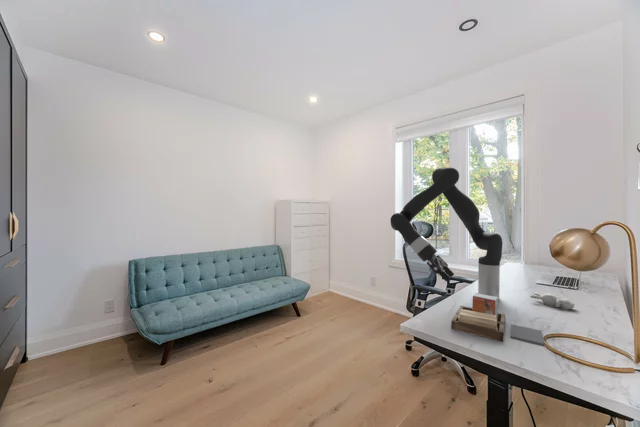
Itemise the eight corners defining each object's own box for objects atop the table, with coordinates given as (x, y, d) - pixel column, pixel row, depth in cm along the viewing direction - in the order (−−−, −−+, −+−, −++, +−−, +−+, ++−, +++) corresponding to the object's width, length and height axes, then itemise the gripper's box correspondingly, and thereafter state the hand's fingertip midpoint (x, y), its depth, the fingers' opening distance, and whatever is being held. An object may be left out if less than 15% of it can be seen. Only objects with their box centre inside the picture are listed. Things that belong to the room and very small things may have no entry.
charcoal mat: (511, 325, 103) (511, 324, 103) (541, 332, 97) (541, 330, 97) (510, 337, 93) (510, 335, 93) (543, 345, 88) (543, 343, 88)
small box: (471, 321, 106) (472, 295, 106) (475, 317, 110) (475, 292, 110) (495, 327, 101) (495, 300, 101) (498, 323, 105) (498, 296, 105)
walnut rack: (460, 312, 116) (460, 305, 116) (505, 321, 106) (505, 314, 106) (451, 328, 100) (451, 320, 100) (502, 341, 90) (503, 332, 90)
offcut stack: (459, 323, 105) (459, 308, 105) (496, 331, 98) (496, 315, 98) (457, 329, 100) (458, 313, 99) (497, 338, 93) (497, 321, 93)
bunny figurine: (571, 303, 116) (530, 291, 128) (569, 314, 117) (528, 301, 128) (576, 299, 122) (536, 287, 134) (574, 310, 122) (534, 297, 134)
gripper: (424, 244, 112) (454, 275, 106) (433, 241, 124) (460, 269, 117) (412, 255, 116) (439, 286, 109) (421, 251, 127) (447, 279, 120)
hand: (450, 277), depth 113 cm, fingers open, 8 cm apart
